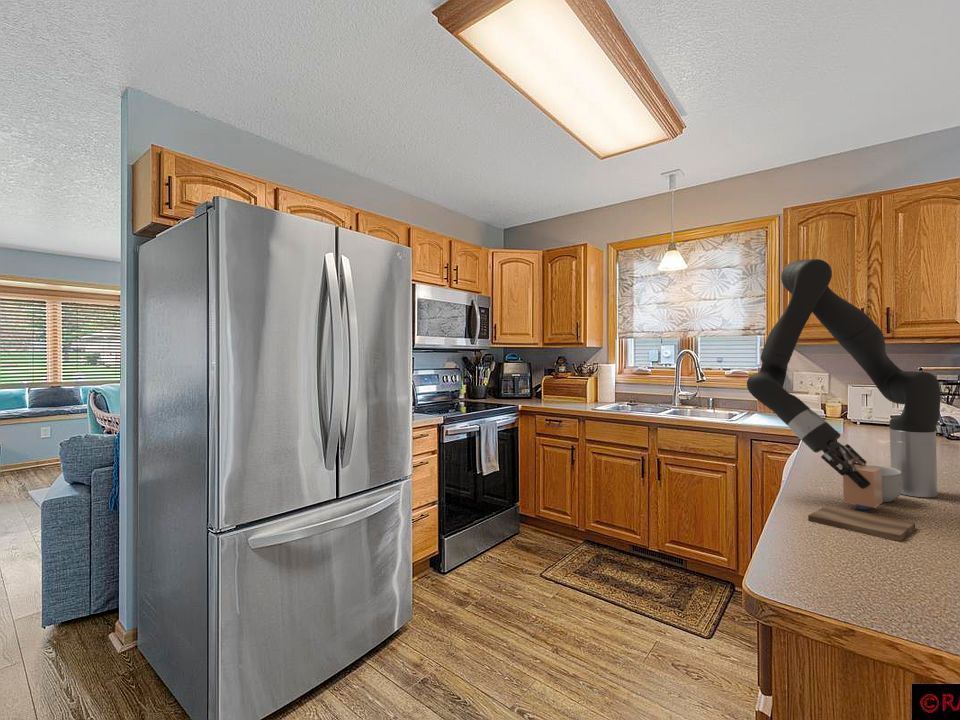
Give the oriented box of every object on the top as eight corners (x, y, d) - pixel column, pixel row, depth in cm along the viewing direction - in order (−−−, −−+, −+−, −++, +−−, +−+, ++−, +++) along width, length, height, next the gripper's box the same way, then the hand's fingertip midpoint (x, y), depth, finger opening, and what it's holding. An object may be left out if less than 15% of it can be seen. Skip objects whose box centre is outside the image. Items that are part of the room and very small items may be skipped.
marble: (857, 506, 116) (856, 494, 116) (872, 509, 113) (872, 497, 113) (853, 509, 114) (852, 496, 114) (868, 512, 112) (868, 499, 112)
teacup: (913, 506, 116) (912, 474, 116) (863, 504, 118) (862, 472, 118) (877, 490, 129) (876, 462, 129) (833, 489, 131) (832, 461, 131)
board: (827, 510, 114) (827, 505, 114) (915, 528, 101) (915, 522, 101) (808, 520, 107) (808, 515, 107) (899, 541, 94) (899, 535, 94)
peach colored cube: (852, 497, 118) (851, 463, 118) (882, 502, 113) (881, 468, 113) (843, 501, 115) (842, 467, 115) (874, 507, 110) (873, 471, 110)
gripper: (813, 424, 116) (875, 480, 106) (834, 418, 124) (894, 470, 114) (790, 442, 120) (848, 498, 110) (812, 436, 128) (867, 487, 119)
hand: (871, 484), depth 112 cm, fingers closed on peach colored cube, 6 cm apart
